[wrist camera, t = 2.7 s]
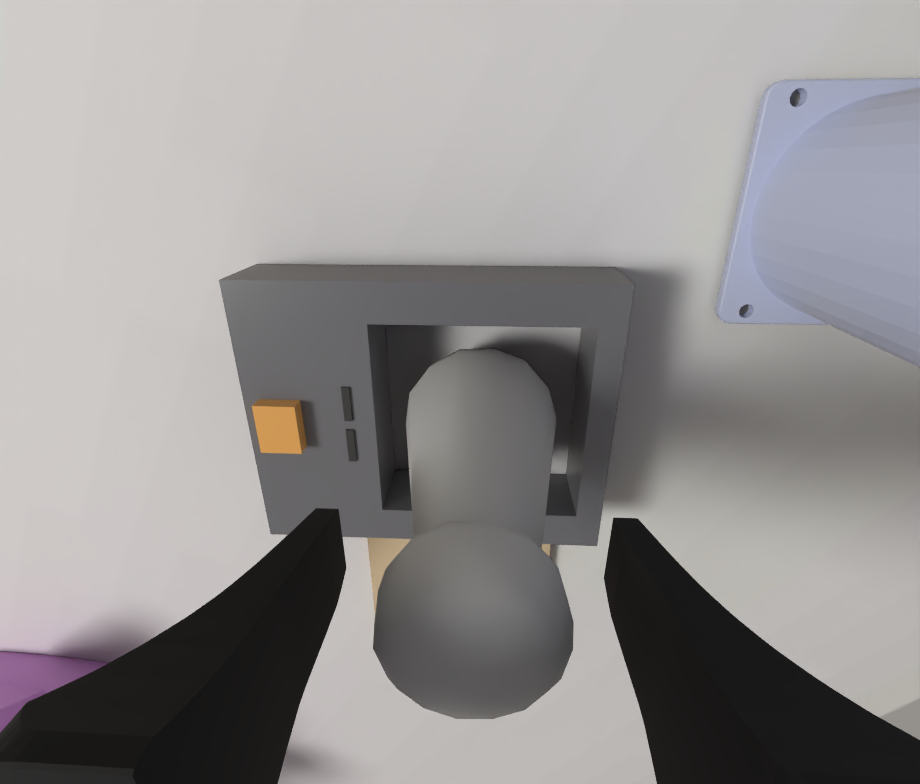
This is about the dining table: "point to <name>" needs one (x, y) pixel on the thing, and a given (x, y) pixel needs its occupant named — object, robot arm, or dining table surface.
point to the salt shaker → (476, 545)
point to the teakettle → (35, 678)
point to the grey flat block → (367, 380)
